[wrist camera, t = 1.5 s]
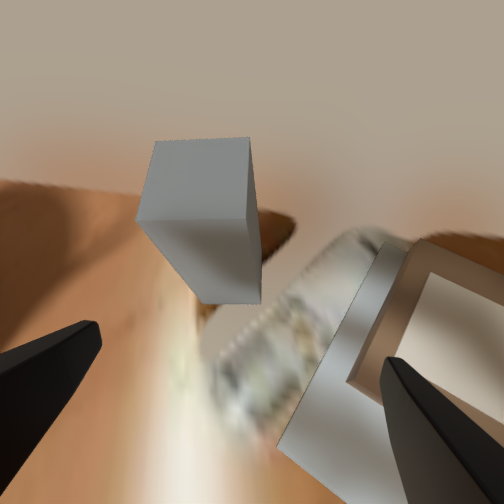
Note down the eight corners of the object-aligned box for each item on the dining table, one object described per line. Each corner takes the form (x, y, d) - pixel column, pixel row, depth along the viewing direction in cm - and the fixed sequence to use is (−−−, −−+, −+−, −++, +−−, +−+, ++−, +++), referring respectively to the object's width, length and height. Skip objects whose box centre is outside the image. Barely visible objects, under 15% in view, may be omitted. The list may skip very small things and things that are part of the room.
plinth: (547, 660, 14) (623, 734, 11) (276, 445, 19) (276, 455, 16) (596, 348, 20) (654, 339, 17) (381, 246, 25) (396, 225, 22)
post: (261, 304, 24) (245, 218, 12) (203, 304, 24) (135, 220, 13) (261, 251, 26) (249, 137, 14) (208, 252, 26) (155, 141, 15)
